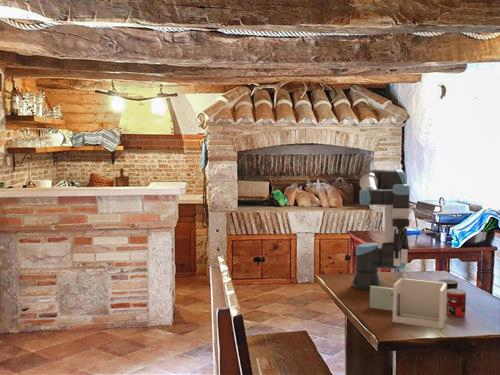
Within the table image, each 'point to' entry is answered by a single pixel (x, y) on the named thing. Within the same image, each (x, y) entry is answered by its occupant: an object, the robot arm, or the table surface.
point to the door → (381, 298)
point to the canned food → (456, 303)
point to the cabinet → (420, 302)
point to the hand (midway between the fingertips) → (400, 264)
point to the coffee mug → (450, 283)
